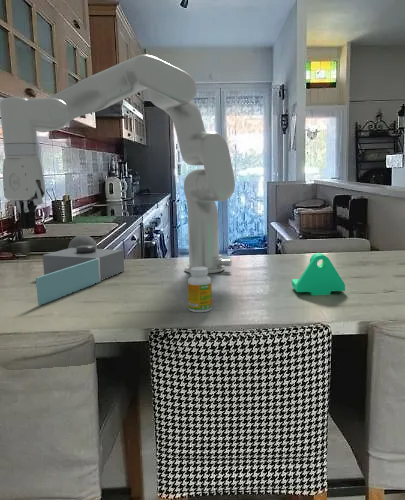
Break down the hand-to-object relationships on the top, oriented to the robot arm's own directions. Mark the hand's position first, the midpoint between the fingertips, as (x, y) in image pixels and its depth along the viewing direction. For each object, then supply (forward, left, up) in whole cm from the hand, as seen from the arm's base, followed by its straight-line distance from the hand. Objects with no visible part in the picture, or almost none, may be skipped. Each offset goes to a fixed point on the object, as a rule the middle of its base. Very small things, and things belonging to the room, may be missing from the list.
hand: (28, 228), depth 117 cm
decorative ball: (+19, -46, -19) cm, 53 cm away
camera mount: (-65, -30, -19) cm, 74 cm away
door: (-4, -10, -18) cm, 21 cm away
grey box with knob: (+7, -30, -19) cm, 36 cm away
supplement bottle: (-42, -6, -19) cm, 47 cm away
